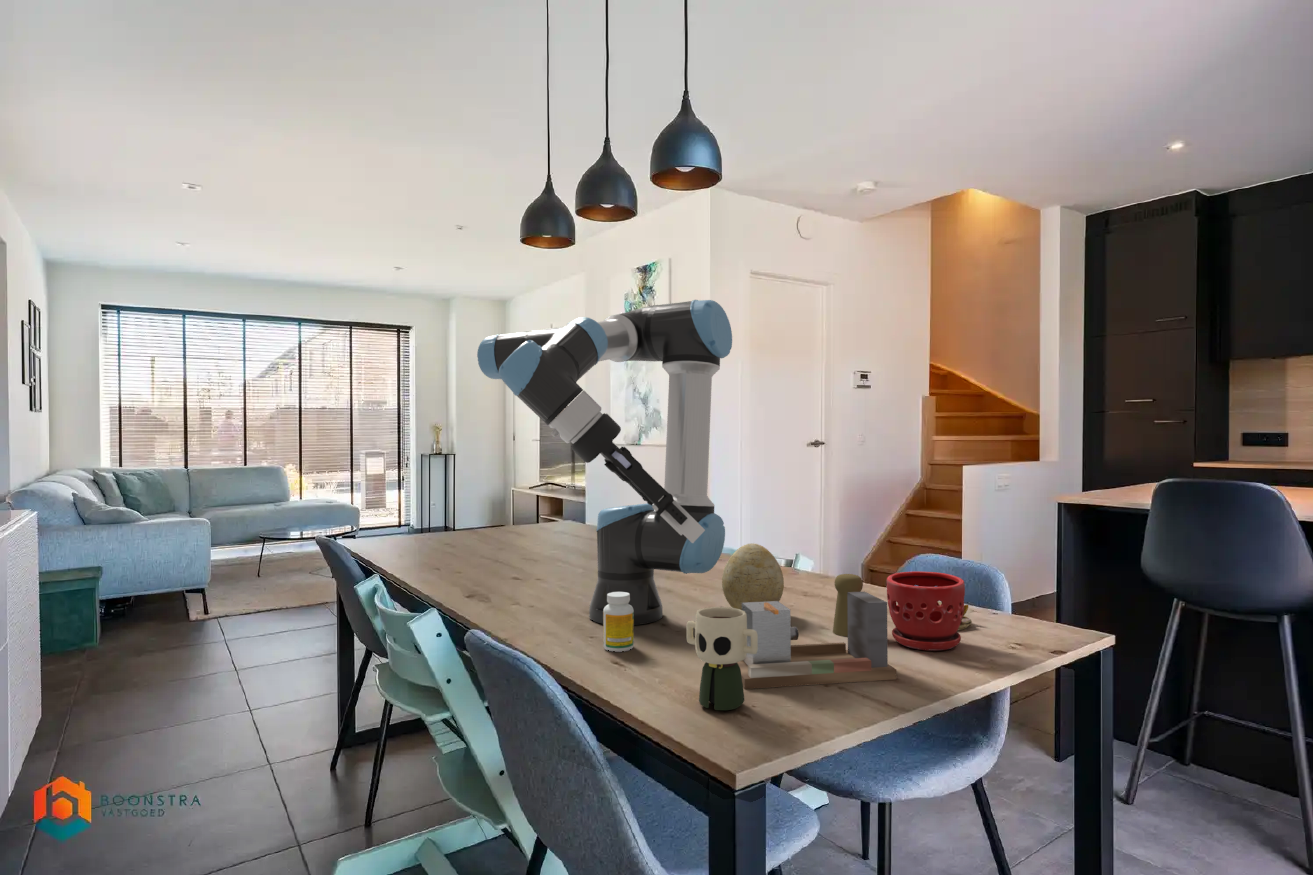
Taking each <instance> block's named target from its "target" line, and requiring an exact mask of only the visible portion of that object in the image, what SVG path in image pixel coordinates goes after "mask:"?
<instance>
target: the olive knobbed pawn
mask: <svg viewBox="0 0 1313 875" xmlns="http://www.w3.org/2000/svg"><path fill="white" fill-rule="evenodd" d="M863 588H864V582H863V579H862V577H861V576H859V575H858V574H853V573H842V574H838V575H836V577H835V579H834V589H836V591H837V595H836V600H835V608H834V617H833V618H834V619H833V626H832V633H833V635H836V636H840V637H846V638H848V602H847V592H862V591H863Z"/></svg>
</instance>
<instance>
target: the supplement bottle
mask: <svg viewBox="0 0 1313 875" xmlns="http://www.w3.org/2000/svg"><path fill="white" fill-rule="evenodd" d="M629 601H630V594H629V593H627V592H612V593H608V594H607V602H608V603H609V604H608V605H606V606H605V607H604V610H603V624H602V627H603V628H602V629H603V634H602V635H603V636H602V638H603V641H602V642H603V649H604V650H606V651H608V650H609V651H608V652H613V651H615V652H614V653H622V651H624V652H629V651H631V650H632V649H633V648H634V644H635V643H634V642H635V640H634V638H635V637H634V636H635V635H634V634H635V633H634V628H635V627H634V626H635V625H634V610H633V607H632V606H631V605H629V604H628V603H629ZM630 649H631V650H630Z"/></svg>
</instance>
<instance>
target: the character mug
mask: <svg viewBox="0 0 1313 875" xmlns="http://www.w3.org/2000/svg"><path fill="white" fill-rule="evenodd" d="M685 628H686V642H687V643H688V644H689V645H693V646H694V647H695V649H694V650H695V653H696V656H697V658H698V659H699V660H700V661H702V662H703V663H704V664H703V666H702V671H701V676H700V685H699V695H698V696H699V697H698V701H699V702H698V703H699V704H700V705H701V706H702V707H704V708H705V709H709V706H710V705H709V704H711V705H713V706H714V708H713V709H714V710H716V711H730V710H736V709H738V708H739V707H740V706H742V705H743V704H744V702H745V701H746V700H745V692H744V690H745V689H744V688H743V683H742V676H741V669H740V667H739V665H738V663H737V662H739V661H742V660H744V659H745V658H746V655H747V653H749V654H757V650H758V635H757V631H755V630H752V629H747V614H746V612H745V611H743V610H740V609H736V608H732V607H724V606H712V607H706V608H700V609H698V610H697V611H695V621H694V620H689V621H687V622H686V627H685ZM694 636H695V637H694ZM747 636H750V637H751V646H747Z"/></svg>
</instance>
